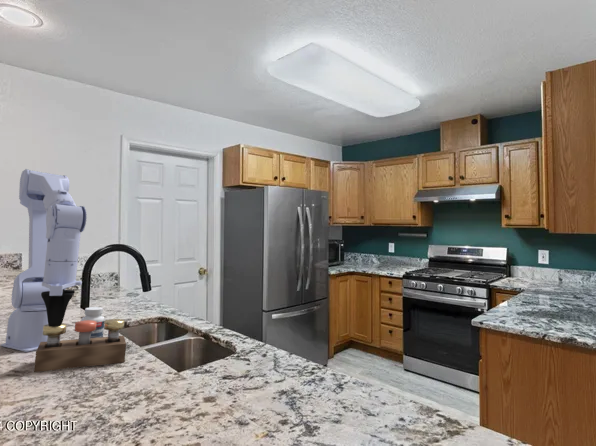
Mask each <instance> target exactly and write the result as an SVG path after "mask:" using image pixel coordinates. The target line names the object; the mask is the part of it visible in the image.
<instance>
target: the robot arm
mask: <svg viewBox="0 0 596 446" xmlns="http://www.w3.org/2000/svg"><path fill="white" fill-rule="evenodd" d="M18 190H19V191H18V192H19V196H18V197H19V198H18V199H19V203H20V205H22V206H23V207H25V208H26V209H27V212H28V220H29V222H28V224H29V225H28V267H27V269H25V270H24V271H22V272H20V273H18V274H17V276H15V278H14V280H13V286H12V290H11V306H12V307H13V308H14V309H13V310H14V311H12V312H11V314H10V315H9V317H8V320H7V328H6V336H5V337H6V338H5V342H4V343H0V346H1V347H4V348H8V349H12V350H15V351H21V352H25V353H30V352H33V351H37V349H38V347H39V345H40V343H41V342H47V338H48V336H47V335H43V326H44V325H47V324H48V325H49V326H61V324H62V323H63V321H64V318H65V315H66V311H67V307H68V306H69V303H70V301H71V299H72V298H73V297H74V295H75V292H76V291H75V289H69V288H71V287H76V286H82V283H83V281H81V280H77V273H78V272H77V271H78V262H79V253H80V245H81V243H80V242H81V235H82V233H83V232H84V231H85V227H86V225H87V218H88V217H87V209H86V207H85V206H84V205H83V206H82V205H79V206H77V204H76V202H75V200H74V198H73V197H72V194H70V192H69V191H70V178H69V177H68V176H67V175H61V174H56V173H49V172H42V171H38V170H31V169H27V168H25V169H24V170H22V172H21V174H20V179H19V189H18Z"/></svg>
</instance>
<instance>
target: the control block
mask: <svg viewBox="0 0 596 446" xmlns="http://www.w3.org/2000/svg"><path fill="white" fill-rule="evenodd" d="M107 339H108V336H103V337H101V338H90V344H87V345H78V340H79V338H78V339H63V340H62V339H60V344H59V347H51V348H46V347H47V342H41V343H40V345H39V347H38V349H37V350H35V358H34V367H33V373H39V372H49V371H50V372H51V371H58V370H66V369H75V368H84V367H85V368H86V367H92V366H93V367H95V366H102V365H112V364H120V363H121V364H122V363H125V360H126V349H127V342H126V339H125V336H124V335H119V338H118V342H111V343H107Z"/></svg>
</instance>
